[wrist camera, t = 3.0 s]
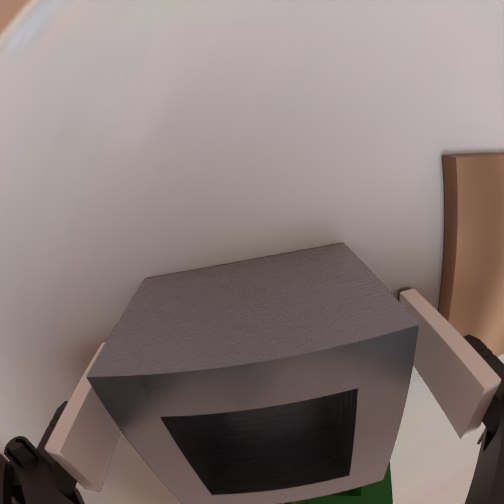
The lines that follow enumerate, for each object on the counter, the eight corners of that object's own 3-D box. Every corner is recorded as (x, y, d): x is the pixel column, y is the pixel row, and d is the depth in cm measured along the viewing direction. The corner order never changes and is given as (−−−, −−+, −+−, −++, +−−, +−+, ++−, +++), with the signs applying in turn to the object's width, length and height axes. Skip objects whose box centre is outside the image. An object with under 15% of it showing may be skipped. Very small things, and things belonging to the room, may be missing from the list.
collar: (197, 411, 15) (186, 508, 9) (145, 278, 12) (86, 377, 6) (347, 387, 14) (383, 479, 9) (343, 242, 12) (419, 324, 6)
